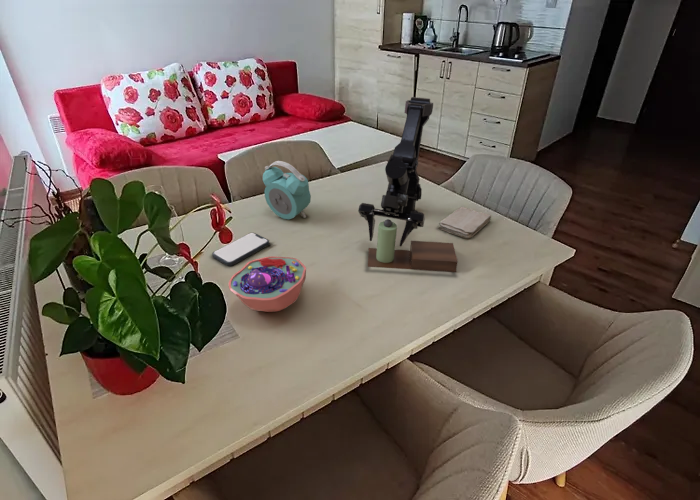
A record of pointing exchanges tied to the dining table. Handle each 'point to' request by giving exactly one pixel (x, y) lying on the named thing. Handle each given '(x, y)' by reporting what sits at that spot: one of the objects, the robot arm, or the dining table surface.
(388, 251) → the pepper mill
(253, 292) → the cell model
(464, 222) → the washcloth
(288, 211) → the alarm clock
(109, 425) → the dining table surface
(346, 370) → the dining table surface
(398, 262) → the spice riser
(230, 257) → the smartphone
